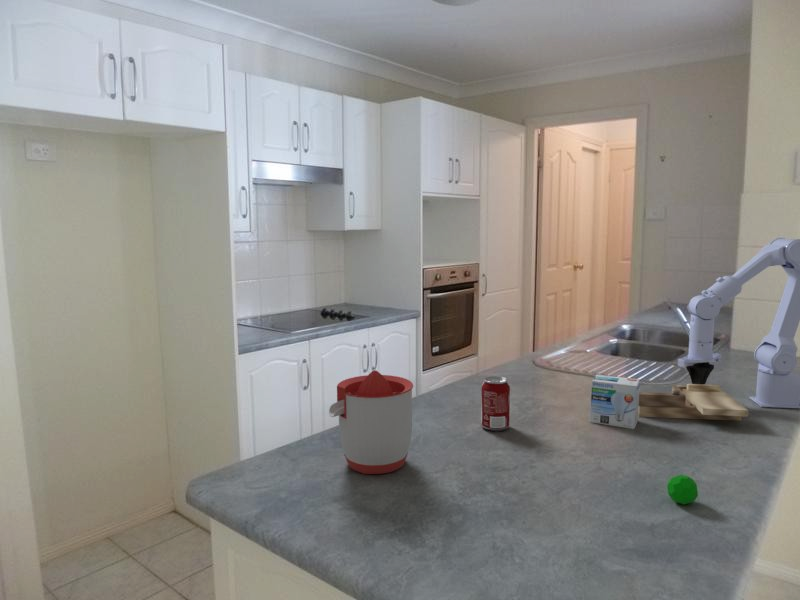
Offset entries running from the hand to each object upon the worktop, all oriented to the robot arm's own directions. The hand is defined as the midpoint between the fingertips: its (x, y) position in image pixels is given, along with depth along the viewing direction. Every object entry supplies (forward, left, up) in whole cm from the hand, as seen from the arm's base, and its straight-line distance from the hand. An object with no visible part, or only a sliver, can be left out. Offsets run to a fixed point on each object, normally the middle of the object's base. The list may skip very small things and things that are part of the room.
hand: (698, 389), depth 158 cm
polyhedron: (+21, +60, -4) cm, 63 cm away
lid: (0, +12, 0) cm, 12 cm away
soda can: (+54, +27, -4) cm, 60 cm away
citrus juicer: (+79, +52, -4) cm, 94 cm away
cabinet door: (+13, +12, -1) cm, 18 cm away
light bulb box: (+25, +19, -4) cm, 31 cm away
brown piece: (+6, +4, -3) cm, 8 cm away
